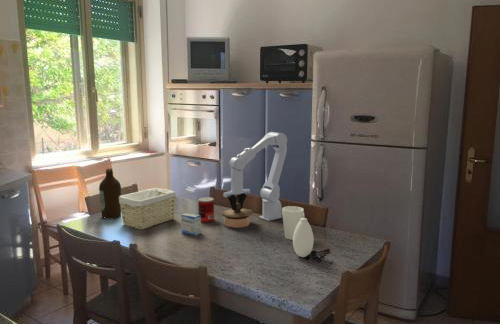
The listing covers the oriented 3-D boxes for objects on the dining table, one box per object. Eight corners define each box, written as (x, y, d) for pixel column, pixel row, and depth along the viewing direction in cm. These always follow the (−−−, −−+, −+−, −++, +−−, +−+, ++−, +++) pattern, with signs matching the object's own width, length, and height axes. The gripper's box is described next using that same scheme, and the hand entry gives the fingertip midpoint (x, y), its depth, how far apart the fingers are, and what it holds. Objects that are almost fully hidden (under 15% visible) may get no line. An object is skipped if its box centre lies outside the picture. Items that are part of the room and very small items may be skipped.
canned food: (215, 218, 217) (215, 197, 215) (212, 222, 209) (212, 201, 207) (200, 217, 217) (200, 196, 216) (197, 222, 210) (196, 200, 208)
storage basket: (140, 231, 196) (139, 200, 193) (118, 225, 205) (116, 195, 203) (177, 219, 215) (177, 191, 212) (155, 214, 224) (155, 186, 222)
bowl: (239, 218, 216) (239, 211, 215) (254, 224, 206) (254, 216, 206) (220, 222, 209) (220, 215, 208) (234, 229, 199) (234, 220, 199)
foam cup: (301, 241, 182) (302, 212, 180) (280, 240, 184) (280, 211, 182) (303, 234, 192) (304, 206, 190) (283, 233, 193) (283, 205, 191)
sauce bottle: (299, 251, 171) (300, 208, 168) (316, 255, 166) (317, 211, 163) (288, 256, 165) (289, 212, 162) (306, 261, 160) (307, 216, 158)
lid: (244, 209, 216) (244, 199, 216) (258, 214, 203) (258, 204, 202) (217, 212, 210) (217, 203, 209) (229, 219, 196) (229, 208, 196)
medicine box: (181, 233, 193) (180, 214, 192) (187, 230, 197) (186, 212, 196) (195, 235, 190) (195, 217, 188) (201, 233, 193) (200, 214, 192)
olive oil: (119, 212, 226) (117, 166, 222) (124, 217, 217) (121, 169, 213) (99, 215, 221) (96, 168, 217) (102, 220, 212) (99, 171, 208)
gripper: (244, 179, 212) (244, 205, 214) (219, 182, 203) (220, 210, 205) (252, 181, 206) (252, 208, 208) (228, 185, 197) (228, 213, 200)
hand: (237, 209), depth 206 cm, fingers closed on lid, 3 cm apart
